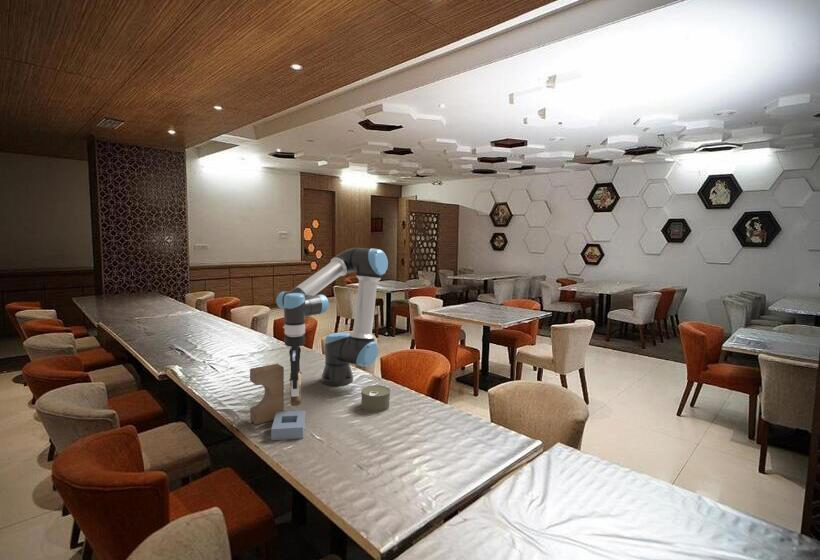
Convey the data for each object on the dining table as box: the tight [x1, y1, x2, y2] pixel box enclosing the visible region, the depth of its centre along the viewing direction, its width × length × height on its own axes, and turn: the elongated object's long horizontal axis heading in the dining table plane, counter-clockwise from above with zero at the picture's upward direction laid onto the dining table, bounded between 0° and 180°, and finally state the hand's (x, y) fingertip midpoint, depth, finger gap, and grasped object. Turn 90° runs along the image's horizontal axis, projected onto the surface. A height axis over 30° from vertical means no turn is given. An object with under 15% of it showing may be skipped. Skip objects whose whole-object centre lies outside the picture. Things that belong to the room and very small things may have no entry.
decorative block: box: [249, 363, 285, 425], centre depth 156 cm, size 11×6×20 cm, turn 130°
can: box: [360, 385, 391, 413], centre depth 171 cm, size 12×12×7 cm
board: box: [270, 409, 306, 441], centre depth 148 cm, size 10×14×4 cm
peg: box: [289, 371, 302, 407], centre depth 159 cm, size 4×4×12 cm
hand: (295, 393), depth 159 cm, fingers closed on peg, 4 cm apart
